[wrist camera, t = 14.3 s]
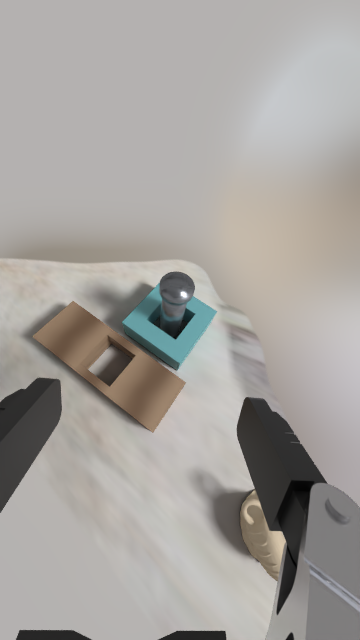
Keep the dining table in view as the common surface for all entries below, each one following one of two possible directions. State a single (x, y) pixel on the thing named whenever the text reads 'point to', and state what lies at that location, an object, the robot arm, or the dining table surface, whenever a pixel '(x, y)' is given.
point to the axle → (174, 300)
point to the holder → (159, 341)
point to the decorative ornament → (261, 536)
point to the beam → (136, 379)
